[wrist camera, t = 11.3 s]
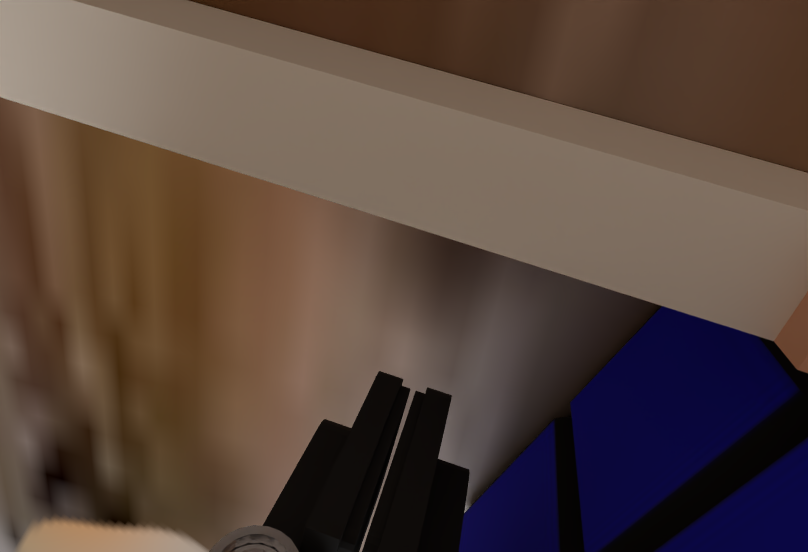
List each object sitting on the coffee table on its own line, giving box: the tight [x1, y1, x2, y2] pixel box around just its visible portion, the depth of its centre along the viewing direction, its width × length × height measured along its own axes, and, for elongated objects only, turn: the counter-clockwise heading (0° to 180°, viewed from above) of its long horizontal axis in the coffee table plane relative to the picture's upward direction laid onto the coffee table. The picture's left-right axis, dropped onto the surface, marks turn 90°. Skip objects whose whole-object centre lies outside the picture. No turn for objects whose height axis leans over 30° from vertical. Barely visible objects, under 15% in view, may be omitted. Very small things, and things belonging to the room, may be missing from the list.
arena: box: [0, 0, 808, 373], centre depth 11 cm, size 24×15×6 cm, turn 77°
